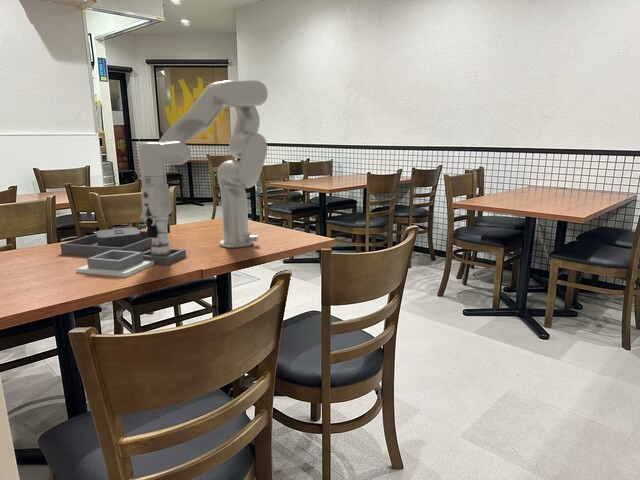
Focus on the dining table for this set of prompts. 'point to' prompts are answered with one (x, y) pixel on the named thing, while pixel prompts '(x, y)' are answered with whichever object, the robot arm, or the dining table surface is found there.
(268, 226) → the dining table surface
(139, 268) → the board
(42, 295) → the dining table surface
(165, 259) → the tray
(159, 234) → the plastic bottle
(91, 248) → the dark grey organizer tray
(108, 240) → the streaming box
